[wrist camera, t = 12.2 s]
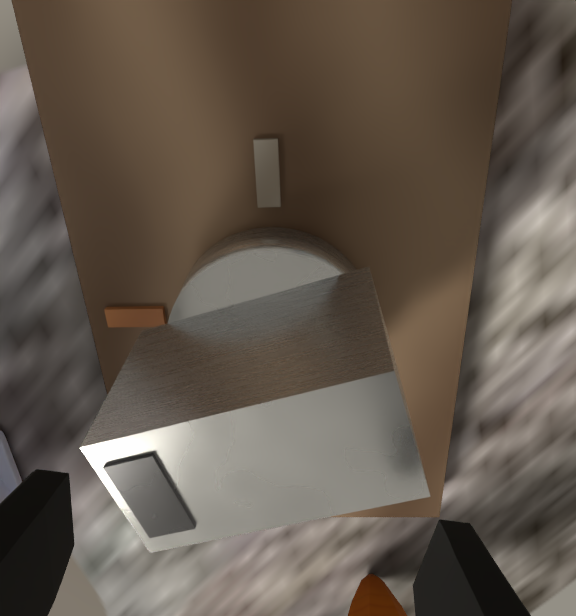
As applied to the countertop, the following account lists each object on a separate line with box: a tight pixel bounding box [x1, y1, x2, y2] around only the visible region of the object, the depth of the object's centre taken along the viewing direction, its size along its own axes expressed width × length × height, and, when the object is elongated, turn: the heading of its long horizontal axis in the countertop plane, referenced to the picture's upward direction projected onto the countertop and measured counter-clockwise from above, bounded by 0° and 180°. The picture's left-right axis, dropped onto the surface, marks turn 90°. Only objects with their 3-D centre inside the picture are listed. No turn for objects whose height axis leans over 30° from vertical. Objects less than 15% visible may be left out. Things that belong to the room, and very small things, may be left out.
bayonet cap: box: [80, 227, 430, 553], centre depth 15 cm, size 6×7×7 cm
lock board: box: [12, 0, 512, 517], centre depth 19 cm, size 13×20×2 cm, turn 2°
